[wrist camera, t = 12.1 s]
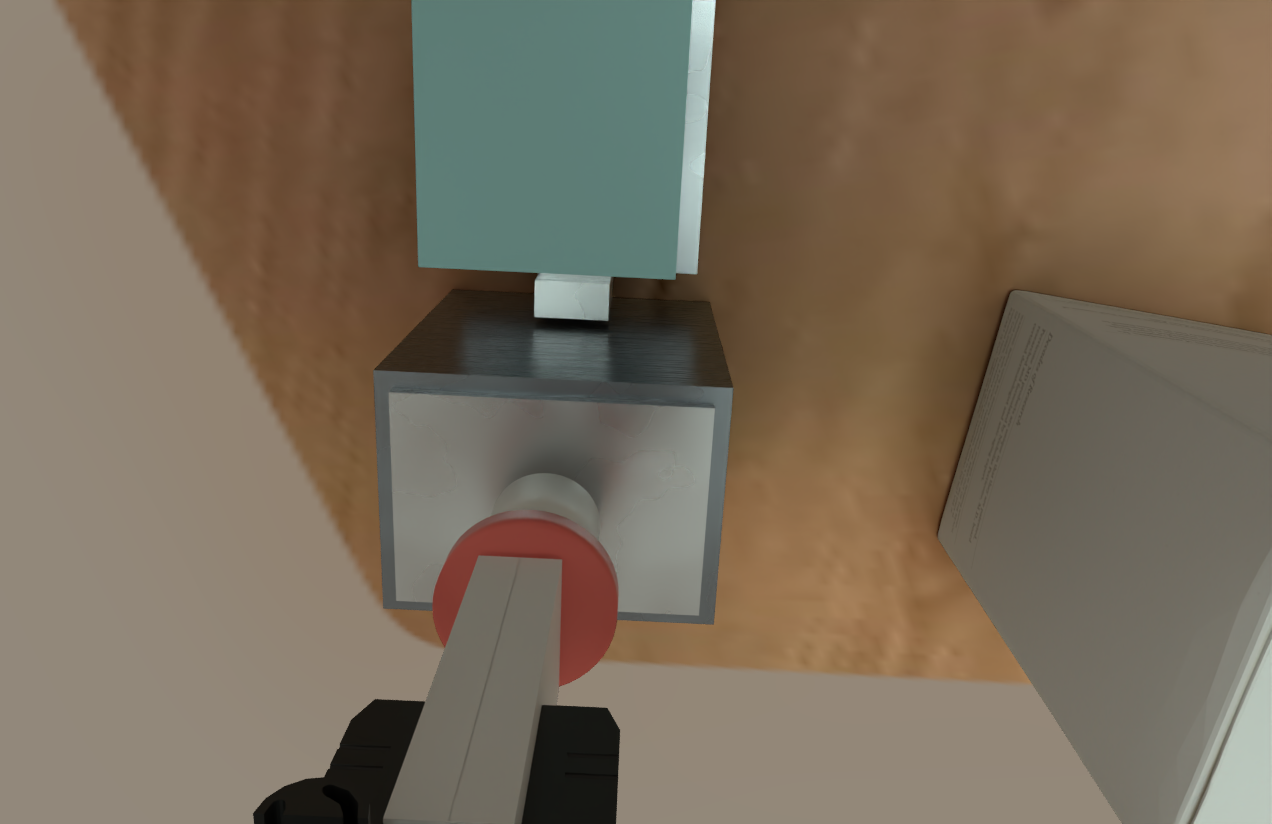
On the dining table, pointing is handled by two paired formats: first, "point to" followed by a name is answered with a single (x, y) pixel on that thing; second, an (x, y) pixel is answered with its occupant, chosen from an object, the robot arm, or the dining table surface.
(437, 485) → the grey button housing
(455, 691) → the robot arm
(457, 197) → the carriage
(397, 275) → the dining table surface
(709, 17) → the rail
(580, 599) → the plunger
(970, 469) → the supplement box
